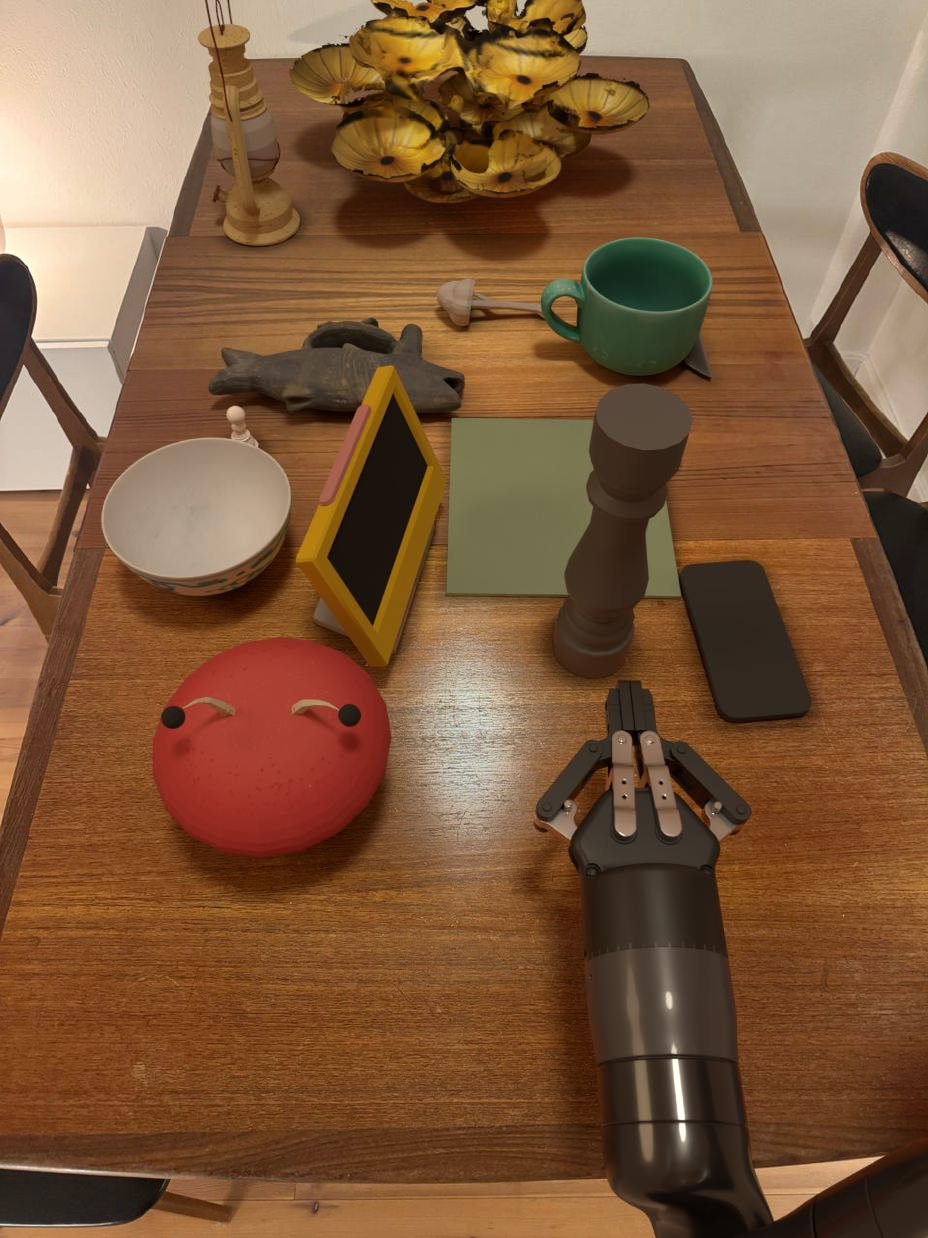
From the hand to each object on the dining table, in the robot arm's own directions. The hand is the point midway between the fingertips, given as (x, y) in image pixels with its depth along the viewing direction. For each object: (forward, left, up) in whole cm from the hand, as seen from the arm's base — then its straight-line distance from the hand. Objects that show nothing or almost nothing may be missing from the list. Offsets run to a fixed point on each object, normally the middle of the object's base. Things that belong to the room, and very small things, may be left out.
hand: (626, 686), depth 56 cm
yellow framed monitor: (+18, -17, -12) cm, 28 cm away
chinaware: (+32, -19, -12) cm, 39 cm away
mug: (-5, -48, -12) cm, 50 cm away
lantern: (+36, -71, -12) cm, 80 cm away
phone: (-12, -12, -12) cm, 21 cm away
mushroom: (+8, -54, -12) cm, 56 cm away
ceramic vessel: (+23, -43, -12) cm, 50 cm away
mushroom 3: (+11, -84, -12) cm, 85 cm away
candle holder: (0, -11, -12) cm, 16 cm away
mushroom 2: (+23, +2, -12) cm, 26 cm away
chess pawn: (+32, -33, -12) cm, 47 cm away
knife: (-14, -50, -12) cm, 54 cm away
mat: (+2, -26, -12) cm, 29 cm away
